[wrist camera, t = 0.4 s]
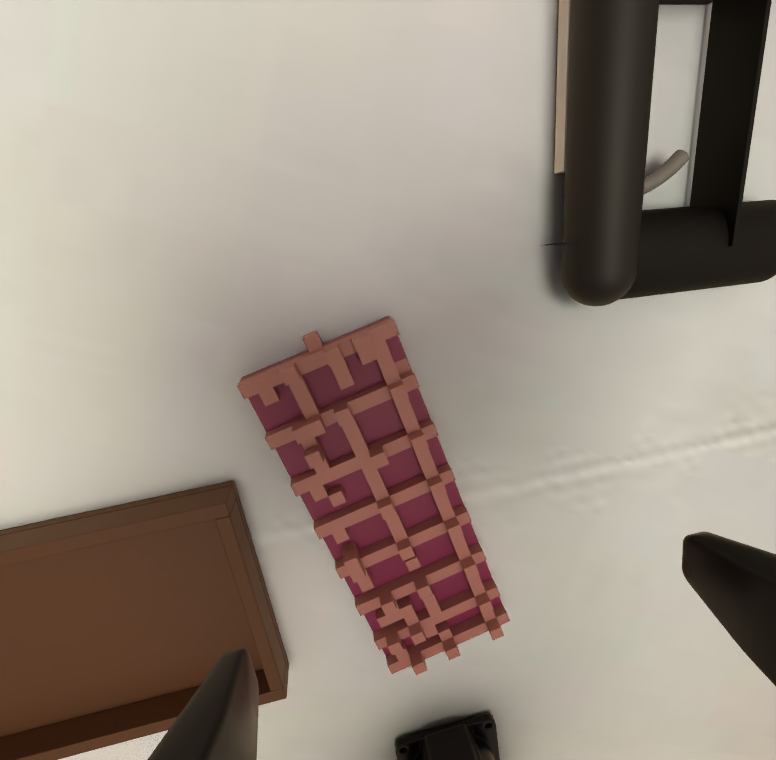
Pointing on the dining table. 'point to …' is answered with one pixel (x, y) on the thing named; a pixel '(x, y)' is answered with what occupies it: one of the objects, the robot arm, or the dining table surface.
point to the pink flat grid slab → (379, 491)
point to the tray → (126, 620)
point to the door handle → (628, 161)
